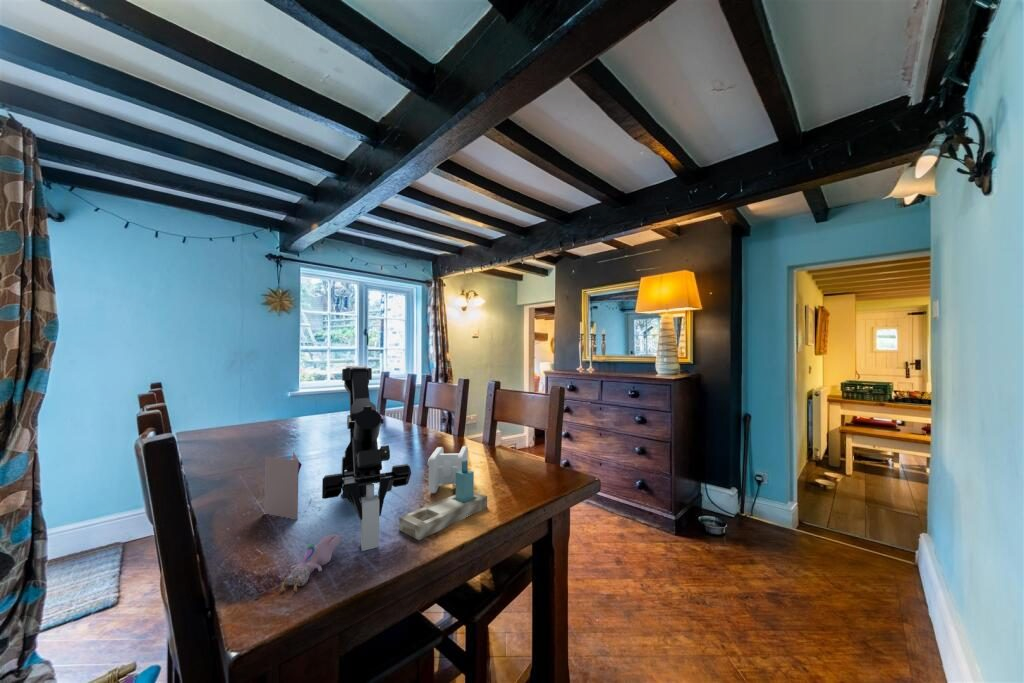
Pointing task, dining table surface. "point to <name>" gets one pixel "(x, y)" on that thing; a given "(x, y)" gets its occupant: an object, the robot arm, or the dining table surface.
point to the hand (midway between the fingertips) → (370, 517)
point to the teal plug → (464, 484)
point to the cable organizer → (444, 467)
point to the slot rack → (439, 515)
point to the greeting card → (281, 486)
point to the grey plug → (370, 519)
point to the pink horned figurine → (312, 561)
